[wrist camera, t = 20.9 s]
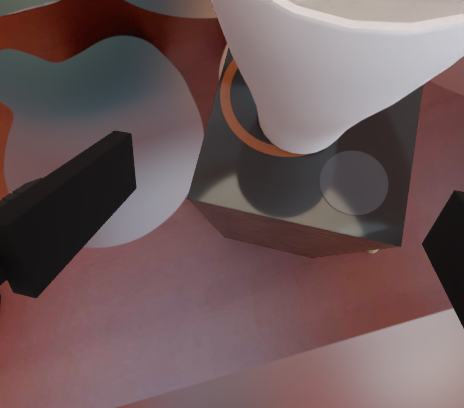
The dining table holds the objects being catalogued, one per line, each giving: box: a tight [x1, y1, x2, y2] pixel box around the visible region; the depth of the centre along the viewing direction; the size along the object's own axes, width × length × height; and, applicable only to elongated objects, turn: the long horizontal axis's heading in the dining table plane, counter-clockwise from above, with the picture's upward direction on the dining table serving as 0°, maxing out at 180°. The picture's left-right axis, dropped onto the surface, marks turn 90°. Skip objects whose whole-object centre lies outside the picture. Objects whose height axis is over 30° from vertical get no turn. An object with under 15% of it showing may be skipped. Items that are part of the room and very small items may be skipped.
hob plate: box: [187, 48, 423, 247], centre depth 21 cm, size 14×14×1 cm
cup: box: [211, 0, 464, 154], centre depth 14 cm, size 10×10×14 cm
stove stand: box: [190, 200, 397, 258], centre depth 35 cm, size 14×14×28 cm
